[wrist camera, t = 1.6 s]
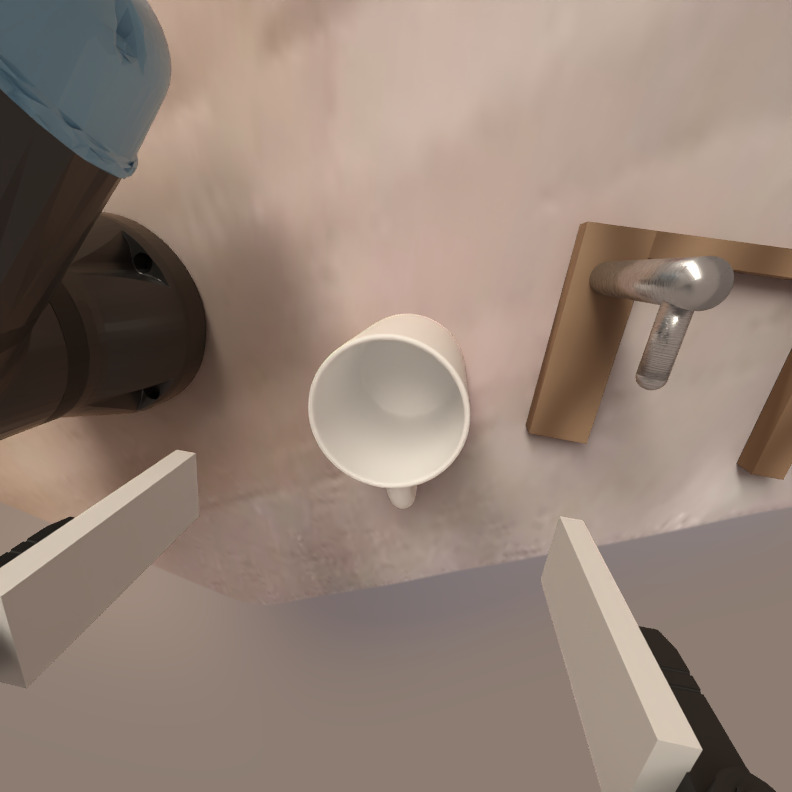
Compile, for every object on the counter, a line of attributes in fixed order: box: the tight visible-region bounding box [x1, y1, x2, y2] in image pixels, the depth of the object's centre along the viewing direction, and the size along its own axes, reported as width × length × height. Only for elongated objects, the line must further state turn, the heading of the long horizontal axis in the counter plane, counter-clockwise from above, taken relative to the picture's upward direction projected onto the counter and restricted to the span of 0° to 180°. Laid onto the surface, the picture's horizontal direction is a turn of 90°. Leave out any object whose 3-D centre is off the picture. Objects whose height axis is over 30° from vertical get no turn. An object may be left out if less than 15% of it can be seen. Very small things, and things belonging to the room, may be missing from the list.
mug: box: [308, 314, 470, 509], centre depth 25 cm, size 12×8×10 cm
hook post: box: [589, 256, 734, 390], centre depth 20 cm, size 2×6×10 cm, turn 172°
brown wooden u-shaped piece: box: [526, 222, 792, 480], centre depth 26 cm, size 17×14×2 cm
